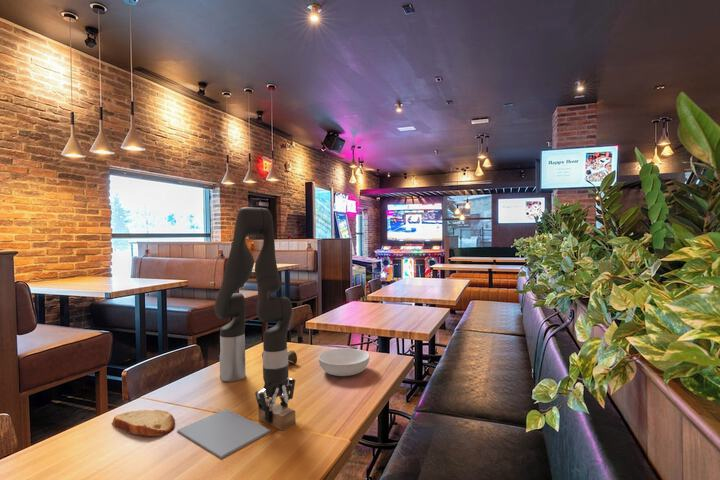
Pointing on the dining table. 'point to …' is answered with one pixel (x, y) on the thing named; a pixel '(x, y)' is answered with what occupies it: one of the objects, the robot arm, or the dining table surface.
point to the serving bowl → (344, 361)
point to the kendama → (291, 357)
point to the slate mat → (223, 432)
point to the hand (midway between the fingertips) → (276, 418)
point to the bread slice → (145, 422)
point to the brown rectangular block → (279, 416)
